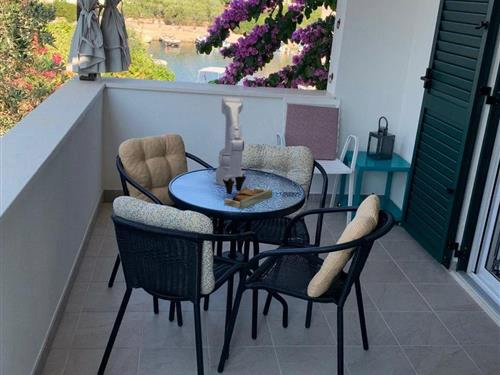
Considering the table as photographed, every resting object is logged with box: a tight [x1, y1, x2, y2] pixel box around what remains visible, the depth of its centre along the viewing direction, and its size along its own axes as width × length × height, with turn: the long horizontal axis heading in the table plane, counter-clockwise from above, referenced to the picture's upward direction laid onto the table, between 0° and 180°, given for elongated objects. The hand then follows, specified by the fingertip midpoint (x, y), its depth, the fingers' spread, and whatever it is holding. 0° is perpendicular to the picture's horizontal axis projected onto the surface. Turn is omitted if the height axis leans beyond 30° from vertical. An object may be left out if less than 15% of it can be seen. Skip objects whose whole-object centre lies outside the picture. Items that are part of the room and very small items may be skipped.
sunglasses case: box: [231, 186, 257, 202], centre depth 269 cm, size 18×7×7 cm
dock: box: [223, 187, 274, 210], centre depth 266 cm, size 10×25×4 cm, turn 146°
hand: (233, 192), depth 271 cm, fingers open, 7 cm apart
